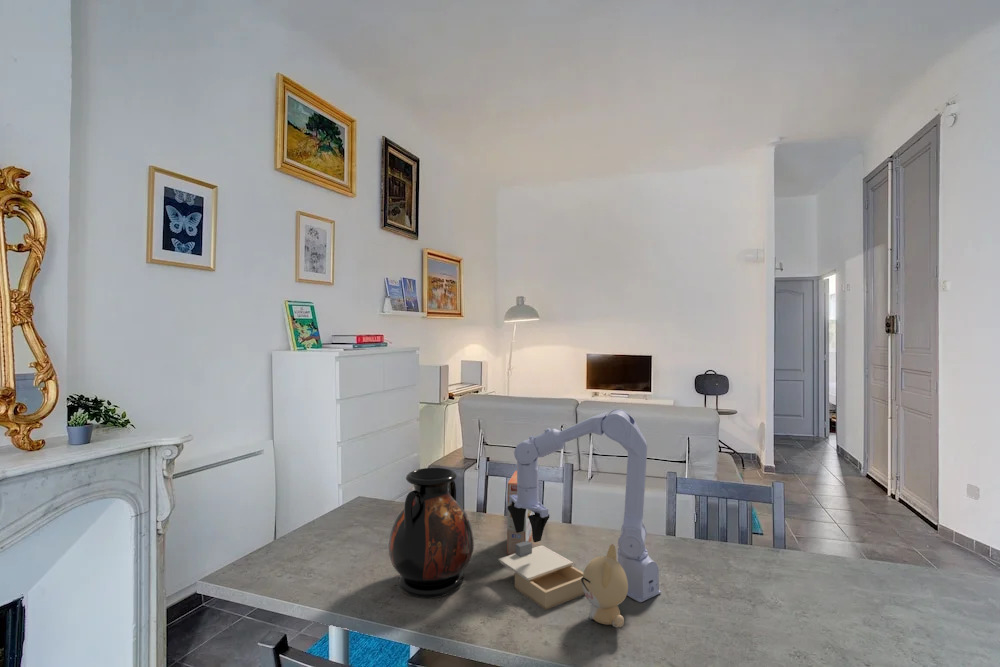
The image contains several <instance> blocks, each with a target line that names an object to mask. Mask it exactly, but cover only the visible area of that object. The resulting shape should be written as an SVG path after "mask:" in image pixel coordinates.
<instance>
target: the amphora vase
mask: <svg viewBox="0 0 1000 667" xmlns="http://www.w3.org/2000/svg"><path fill="white" fill-rule="evenodd" d="M457 477H458V476H457V473H456V472H455V471H454V470H452V469H450V468H445V467H426V468H419V469H414V470H412V471H411V472H409V473H407V475H406V477H405V480H406V481H407V483H409V484H411V485H413V490H411V491H409V492H408V494H406V497H405V500H404V505H403V506H404V507H403V508H402V509H401V510H400V511H399V512H398V514H397V515H396V517H395V520H394V522H393V524H392V528H391V530H390V534H389V539H388V544H387V546H388V556H389V559H390V562H391V564H392V567H393V568H394V569H395V572H397V573H398V574H399V575H400V576H399V579H398V585H399V587H400V589H401V590H402V591H403V592H404V593H406V594H407V595H409V596H412V597H416V598H421V599H431V598H439V597H444V596H446V595H449V594H452V593H453V592H455V591H457V590H458V589H459V588H460V587H461V586H462V585H463V582H464V580H465V573H464V569H465V568H467V565H468V564H469V562H470V560H471V558H472V555H473V553H474V548H475V547H474V546H475V544H474V543H475V541H474V538H475V537H474V532H473V528H472V527H473V526H472V523H471V521H470V518H469V516H468V514H467V513H466V510H465V509H464V508H463V507H462V506H461V505H460V504H459V503H458V502H457V487H456V486H457V485H456V483H455V480H456V479H457Z"/></svg>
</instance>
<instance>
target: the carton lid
mask: <svg viewBox="0 0 1000 667" xmlns="http://www.w3.org/2000/svg"><path fill="white" fill-rule="evenodd" d="M498 562H499V563H501V564H502V565H503V566H505V567H507V568H508V569H509V570H511V571H513V572H514V573H515V572H516V573H517V574H519V575H520V576H522V577H523V578H525V579H526V580H528V581H529V580H532V579H535V578H537V577H540V576H543V575H546V574H549V573H551V572H554V571H557V570H560V569H562V568H565V567H568V566H573V565H574V562H573V561H572V560H569V558H566V557H564V556H562V555H561V554H559V553H557V552H555V551H554V550H552V549H550V548H548V547H546V546H544V545H543V544H542V545H539V546H535V547H533V543H532V542H531V541H530V542H529V541H525V542H521V543H518V544H516V553H515V554H512V555H509V554H508V555H506V556H503V557H499V558H498Z"/></svg>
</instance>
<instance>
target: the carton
mask: <svg viewBox="0 0 1000 667" xmlns="http://www.w3.org/2000/svg"><path fill="white" fill-rule="evenodd" d="M583 573H584V571H582V570H580V569H579V568H577V567H574V566H573V565H571V566H568V567H565V568H562V569H560V570H557V571H554V572H551V573H549V574H546V575H543V576H540V577H537V578H535V579H532V580H529V581H528V580H526V579H525V578H523V577H522V576H520V575H519V574H517V573H516V572H514V589H515V590H516V591H518V592H520V593H521V595H523V596H525V597H526V598H528V599H529V600H530V601H531V602H533V603H535V604H536V605H537V604H538V606H539V607H540V608H542V609H543V610H544V609H545V611H548V610H550V609H552V608H554V606H555V607H557V606H559V604H560V605H562V604H565V603H567V602H570V601H572V600H574V599H576V597H577V598H579V597H581V595H582V596H583V594H584V591H583V586H582V581H581V578H583ZM584 595H585V594H584ZM578 596H579V597H578ZM566 601H567V602H566ZM564 602H565V603H564ZM561 603H562V604H561Z"/></svg>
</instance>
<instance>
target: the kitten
mask: <svg viewBox="0 0 1000 667" xmlns="http://www.w3.org/2000/svg"><path fill="white" fill-rule="evenodd" d="M583 572H584V573H583V578H581V581H582V586H583V591H584V595H585V598H586V599H587V601H588V602H589V604H590V605H591V606H590V609H589V613H588V617H589V619H590V620H594V621H595V622H596V623H599V624H601V625H605V626H606V625H607V626H608V625H609V626H610V625H612V626H613V627H614V628H621V627H623V626H624V624H625V619H624V616H623V615H621V610H620V608H619V605H621V604H622V603H623V602H624V600H625V599H626V598H627V592H628V581H627V577H626V574H625V571H624V569H623V568H622V566H621V565H620V564H619V563H618V560H617V552H616V546H615V544H614V543H613V544H612V543H611V544H610V545H609V547H608V550H607V553H606V555H601V556H596V557H594V558H593V559H591V560H590V561H589V562H588V563H587V565H586V566H585V568H584V570H583Z"/></svg>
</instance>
